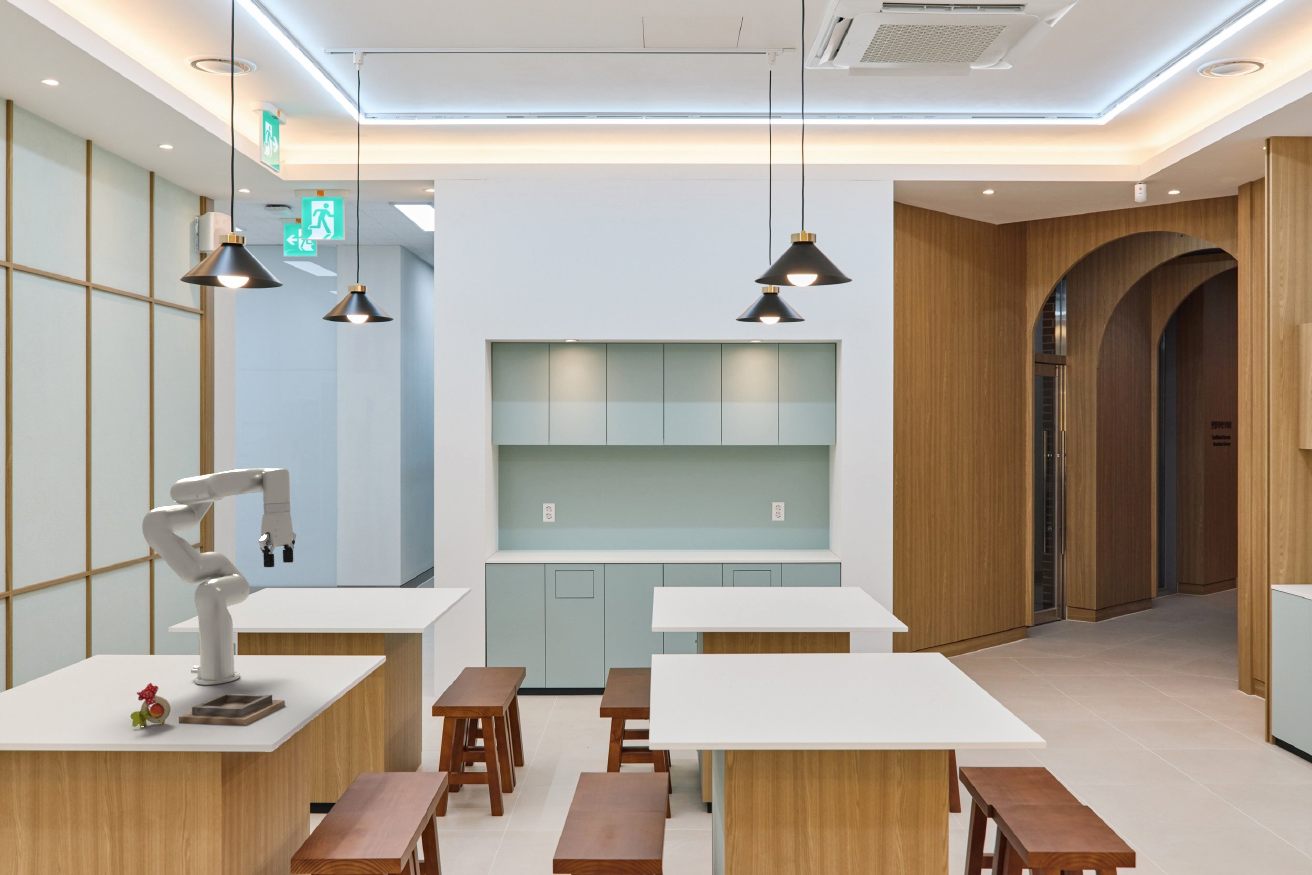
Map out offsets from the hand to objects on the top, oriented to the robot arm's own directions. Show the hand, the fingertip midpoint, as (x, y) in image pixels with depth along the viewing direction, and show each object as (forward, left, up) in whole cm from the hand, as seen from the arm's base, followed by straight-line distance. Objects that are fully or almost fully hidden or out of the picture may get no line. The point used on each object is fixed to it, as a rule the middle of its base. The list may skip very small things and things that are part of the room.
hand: (278, 564), depth 276 cm
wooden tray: (+5, -30, -36) cm, 47 cm away
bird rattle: (-11, -41, -37) cm, 56 cm away
